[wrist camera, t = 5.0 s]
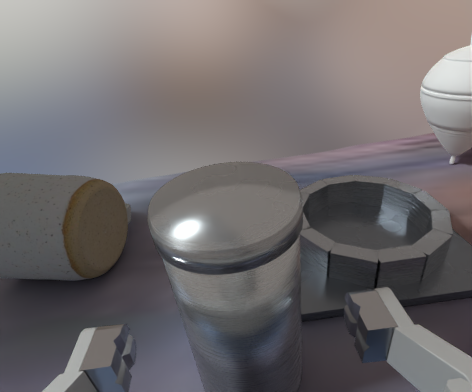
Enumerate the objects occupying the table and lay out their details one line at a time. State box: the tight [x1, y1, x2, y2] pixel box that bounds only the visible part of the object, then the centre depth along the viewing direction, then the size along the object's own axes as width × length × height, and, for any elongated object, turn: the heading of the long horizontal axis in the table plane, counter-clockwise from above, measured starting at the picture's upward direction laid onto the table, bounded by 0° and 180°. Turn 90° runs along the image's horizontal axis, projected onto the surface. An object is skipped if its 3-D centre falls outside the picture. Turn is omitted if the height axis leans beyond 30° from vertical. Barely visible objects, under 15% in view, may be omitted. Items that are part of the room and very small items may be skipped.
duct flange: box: [300, 175, 472, 321], centre depth 21 cm, size 12×12×3 cm
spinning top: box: [420, 37, 472, 164], centre depth 27 cm, size 8×8×12 cm
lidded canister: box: [147, 162, 303, 392], centre depth 13 cm, size 5×5×10 cm
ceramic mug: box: [0, 173, 131, 281], centre depth 23 cm, size 11×8×8 cm
